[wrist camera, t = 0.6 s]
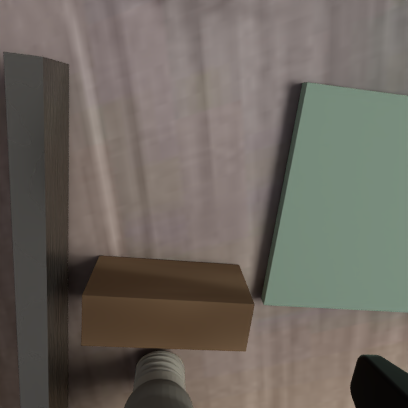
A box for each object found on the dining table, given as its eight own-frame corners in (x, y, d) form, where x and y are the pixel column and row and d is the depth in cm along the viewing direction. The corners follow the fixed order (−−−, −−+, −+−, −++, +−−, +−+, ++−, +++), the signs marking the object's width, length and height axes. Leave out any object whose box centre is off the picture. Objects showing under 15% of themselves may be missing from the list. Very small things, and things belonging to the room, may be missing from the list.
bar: (77, 499, 21) (62, 565, 18) (36, 499, 21) (14, 567, 18) (84, 66, 14) (60, 59, 11) (22, 58, 14) (-20, 48, 11)
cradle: (208, 448, 22) (215, 513, 18) (93, 448, 21) (78, 516, 17) (238, 264, 18) (254, 304, 15) (99, 255, 17) (82, 295, 14)
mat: (430, 307, 20) (438, 313, 19) (261, 298, 19) (263, 304, 18) (502, 109, 17) (513, 110, 16) (302, 82, 15) (307, 82, 15)
